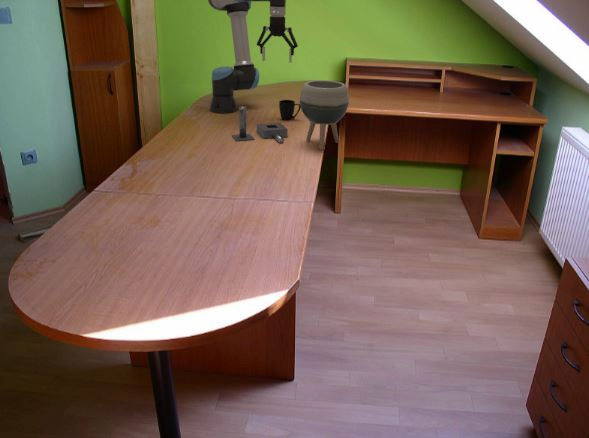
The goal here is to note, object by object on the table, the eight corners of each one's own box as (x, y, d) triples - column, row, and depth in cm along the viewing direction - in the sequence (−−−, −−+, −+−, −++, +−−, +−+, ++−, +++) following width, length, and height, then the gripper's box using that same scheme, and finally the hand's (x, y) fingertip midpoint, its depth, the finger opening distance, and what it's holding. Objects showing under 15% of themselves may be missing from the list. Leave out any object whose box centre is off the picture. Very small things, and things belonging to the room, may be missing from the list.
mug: (296, 122, 286) (296, 104, 282) (276, 119, 291) (276, 101, 287) (303, 119, 293) (303, 101, 289) (283, 116, 297) (283, 99, 293)
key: (237, 138, 255) (237, 108, 249) (241, 134, 261) (240, 104, 255) (244, 139, 255) (244, 108, 249) (248, 135, 261) (247, 105, 255)
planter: (350, 140, 259) (355, 82, 247) (338, 154, 240) (343, 91, 228) (306, 135, 265) (309, 77, 253) (291, 148, 246) (293, 86, 234)
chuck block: (256, 132, 268) (256, 124, 266) (279, 130, 272) (279, 122, 270) (269, 144, 250) (269, 136, 248) (293, 142, 254) (293, 134, 252)
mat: (231, 135, 261) (231, 134, 261) (249, 134, 264) (249, 133, 263) (236, 141, 253) (236, 140, 253) (254, 139, 256) (254, 138, 256)
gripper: (250, 15, 259) (250, 61, 268) (301, 17, 255) (300, 64, 264) (254, 14, 265) (254, 58, 274) (304, 16, 261) (302, 61, 271)
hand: (276, 61), depth 269 cm, fingers open, 13 cm apart
